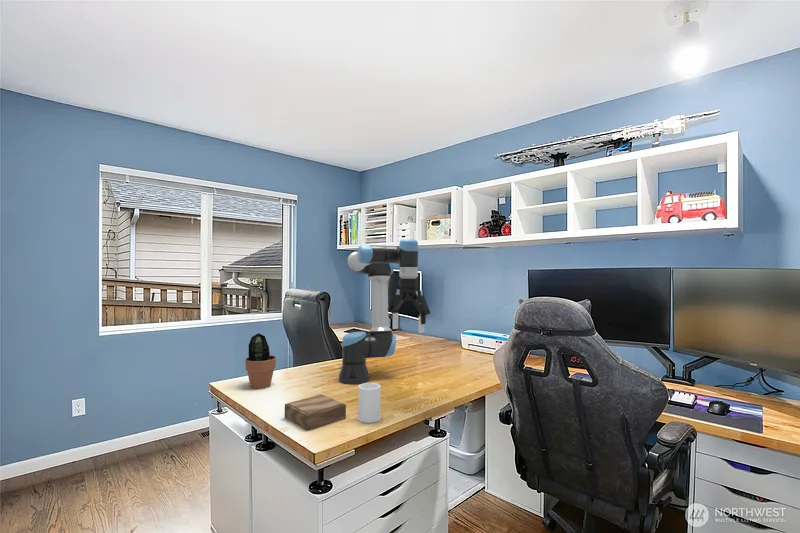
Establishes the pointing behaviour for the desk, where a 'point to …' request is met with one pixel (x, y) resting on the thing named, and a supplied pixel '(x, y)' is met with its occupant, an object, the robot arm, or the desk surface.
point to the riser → (315, 411)
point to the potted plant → (259, 363)
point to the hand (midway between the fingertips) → (408, 330)
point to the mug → (369, 403)
